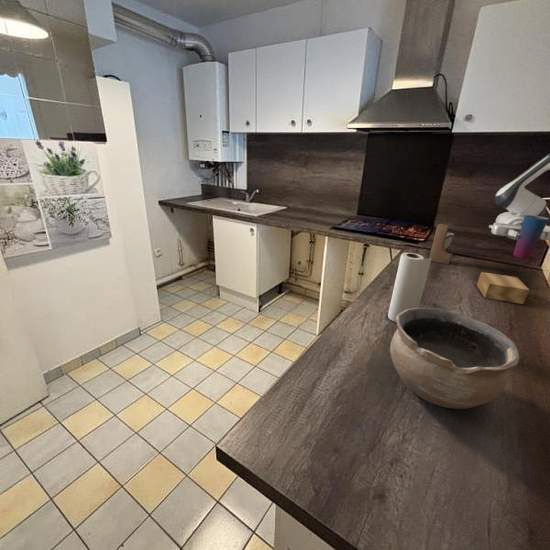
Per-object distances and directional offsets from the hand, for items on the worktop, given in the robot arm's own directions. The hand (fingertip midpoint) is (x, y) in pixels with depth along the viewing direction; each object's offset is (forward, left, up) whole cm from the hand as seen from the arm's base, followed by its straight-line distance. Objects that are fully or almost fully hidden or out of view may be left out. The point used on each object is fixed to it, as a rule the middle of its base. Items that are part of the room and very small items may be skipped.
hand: (530, 236), depth 107 cm
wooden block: (+25, -21, -22) cm, 39 cm away
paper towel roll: (+37, +47, -22) cm, 64 cm away
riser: (+5, +8, -22) cm, 24 cm away
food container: (+25, -39, -22) cm, 51 cm away
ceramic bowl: (+27, +74, -22) cm, 82 cm away
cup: (0, -1, -8) cm, 8 cm away
